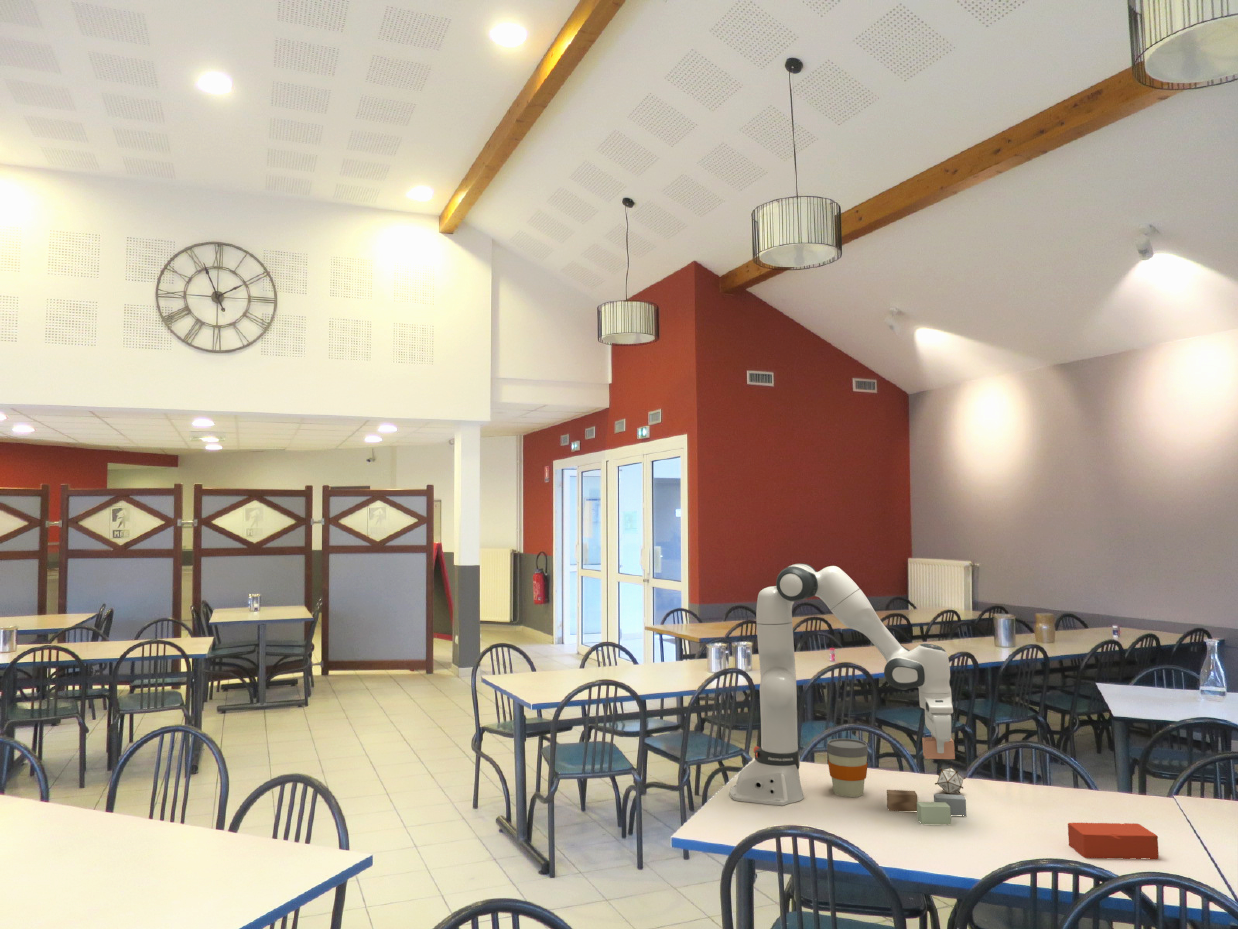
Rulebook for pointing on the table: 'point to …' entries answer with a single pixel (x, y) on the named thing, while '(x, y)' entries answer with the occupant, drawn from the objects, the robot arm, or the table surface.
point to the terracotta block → (931, 750)
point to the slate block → (953, 803)
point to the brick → (1113, 840)
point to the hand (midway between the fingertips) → (938, 750)
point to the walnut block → (901, 800)
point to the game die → (950, 780)
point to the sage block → (933, 813)
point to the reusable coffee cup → (847, 766)
